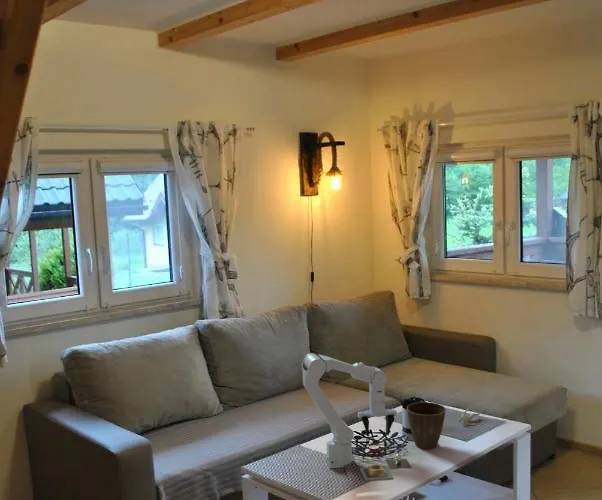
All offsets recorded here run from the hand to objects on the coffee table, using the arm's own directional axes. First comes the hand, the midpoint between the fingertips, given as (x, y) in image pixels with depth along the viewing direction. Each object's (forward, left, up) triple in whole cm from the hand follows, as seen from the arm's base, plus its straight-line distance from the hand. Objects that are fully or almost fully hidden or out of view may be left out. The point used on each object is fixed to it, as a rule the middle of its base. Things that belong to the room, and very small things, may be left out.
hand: (377, 434), depth 269 cm
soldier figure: (+47, +30, -10) cm, 57 cm away
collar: (-4, -15, -9) cm, 18 cm away
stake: (+6, -8, -9) cm, 14 cm away
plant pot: (+21, +7, -10) cm, 24 cm away
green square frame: (-4, -15, -9) cm, 18 cm away
